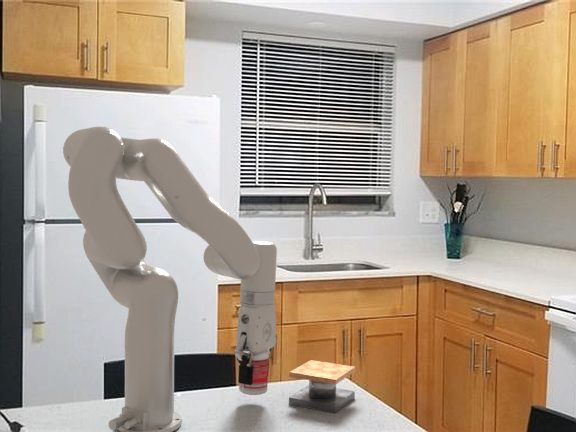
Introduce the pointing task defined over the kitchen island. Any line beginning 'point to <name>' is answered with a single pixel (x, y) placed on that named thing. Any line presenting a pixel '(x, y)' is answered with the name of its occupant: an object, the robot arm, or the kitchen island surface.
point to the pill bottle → (257, 375)
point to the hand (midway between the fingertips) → (253, 379)
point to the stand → (322, 386)
